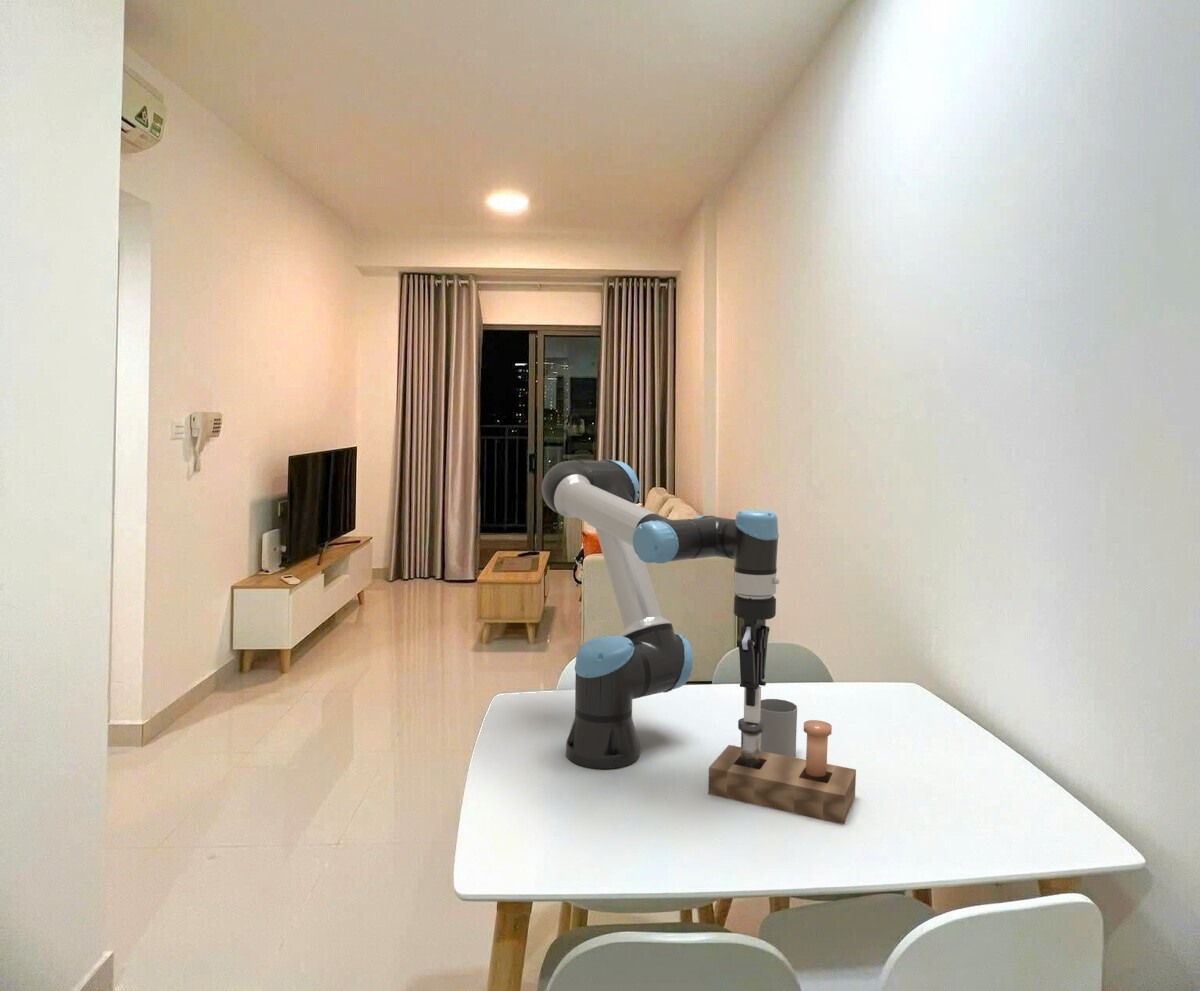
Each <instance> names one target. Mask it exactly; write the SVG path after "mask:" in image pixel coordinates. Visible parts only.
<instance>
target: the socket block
mask: <svg viewBox="0 0 1200 991" xmlns="http://www.w3.org/2000/svg"><path fill="white" fill-rule="evenodd" d="M740 760H741V746H736V745H732V744H728V745H727V746H726V747H725V749H723V751H722V752H721V753H720V754H719V756H718V757H716V758H715V759H714V761H713V762H712V763H711V764H710V766H709V767H708V786H707V788H708V791H707V792H708V795H712V796H715V797H716V796H717V797H720V798H724V799H727V800H728V799H730V800H733V801H738V802H743V803H746V804H752V805H756V806H760V807H765V808H771V809H774V810H778V811H783V812H787V813H790V814H795V815H796V814H797V815H801V816H804V817H809V818H813V819H817V820H818V819H819V820H822V821H827V822H832V823H836V824H841V825H844V824H845V823H846V819H847V817H848V814H849V813H850V809H851V807H852V805H853V803H854V799H855V797H856V781H857V778H856V777H857V769H856V768H851V767H846V766H845V767H844V766H840V765H835V764H830V763H827V774H826V775H825V776H822V777H816V776H811V775H809V774H807V773H806V759H803V758H800V757H789V756H784V755H779V754H773V753H768V752H763V751H761V752H760V770H759V769H754V768H749V767H745V766H740Z"/></svg>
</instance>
